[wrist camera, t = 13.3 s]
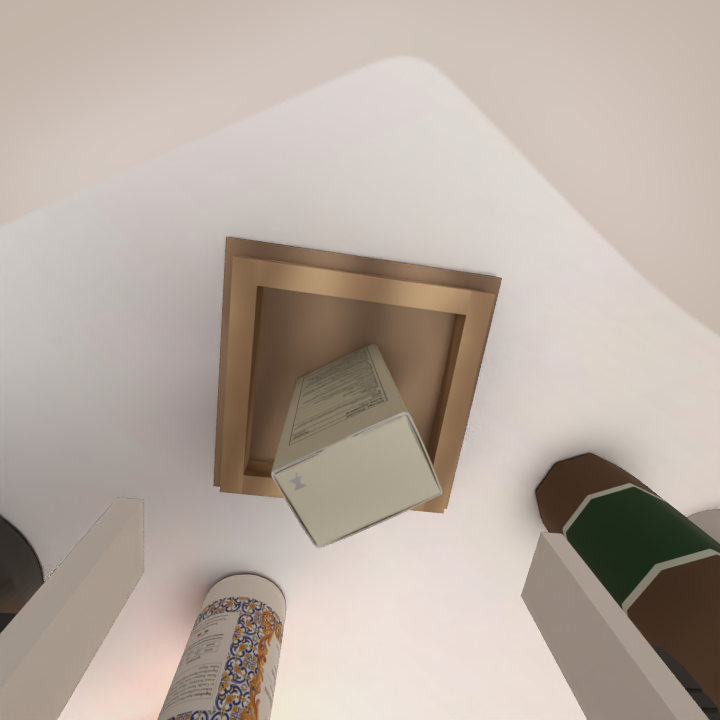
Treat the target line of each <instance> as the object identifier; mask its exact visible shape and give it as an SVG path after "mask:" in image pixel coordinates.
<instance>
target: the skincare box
mask: <svg viewBox="0 0 720 720" xmlns="http://www.w3.org/2000/svg"><path fill="white" fill-rule="evenodd" d="M271 476H272V478H273V479H274V481H275V483H276V484H277V486H278V488H279V490H280V492H281V493H282V495H283V496H284V498H285V500H286V502H287V503H288V505H289V507H290V508H291V510H292V512H293V513H294V515H295V517H296V518H297V520H298V522H299V523H300V525H301V526H302V528H303V530H304V531H305V533H306V534H307V535H308V537H309V538H310V540H311V541H312V543H313V544H314V546H315V547H316V548H321V547H324V546H326V545H329V544H332V543H334V542H337V541H339V540H342V539H345V538H347V537H349V536H352V535H354V534H357V533H359V532H361V531H363V530H366V529H368V528H370V527H372V526H375V525H377V524H379V523H381V522H384V521H386V520H388V519H390V518H392V517H395V516H397V515H399V514H401V513H403V512H406V511H408V510H410V509H412V508H414V507H416V506H418V505H421V504H423V503H425V502H427V501H429V500H431V499H433V498H435V497H437V496H440V495H441V494H442V493H443V490H442V487H441V485H440V483H439V480H438V477H437V475H436V472H435V470H434V467H433V465H432V462H431V460H430V457H429V455H428V453H427V450H426V448H425V446H424V443H423V441H422V439H421V437H420V434H419V432H418V430H417V428H416V426H415V424H414V421H413V419H412V417H411V415H410V413H409V411H408V409H407V407H406V405H405V403H404V401H403V399H402V397H401V395H400V393H399V390H398V388H397V386H396V384H395V382H394V380H393V378H392V376H391V373H390V371H389V369H388V367H387V365H386V363H385V361H384V359H383V357H382V355H381V353H380V351H379V349H378V346H377V345H376V344H371V345H369V346H366V347H364V348H362V349H359V350H357V351H355V352H353V353H350V354H348V355H346V356H344V357H341V358H339V359H337V360H335V361H333V362H331V363H329V364H327V365H325V366H323V367H321V368H319V369H316V370H314V371H313V372H311V373H309V374H307V375H305V376H303V377H301V378H299V379H297V381H296V385H295V388H294V392H293V396H292V400H291V403H290V407H289V410H288V414H287V418H286V421H285V425H284V428H283V432H282V436H281V439H280V443H279V446H278V450H277V454H276V457H275V461H274V464H273V468H272V472H271Z"/></svg>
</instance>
